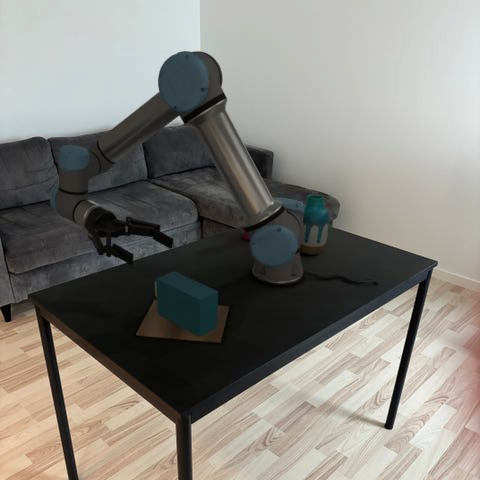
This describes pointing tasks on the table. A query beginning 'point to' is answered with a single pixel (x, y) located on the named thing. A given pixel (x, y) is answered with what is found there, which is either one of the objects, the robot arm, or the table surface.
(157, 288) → the teal box
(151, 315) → the cork mat
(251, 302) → the table surface
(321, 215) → the vase
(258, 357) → the table surface
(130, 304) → the table surface
